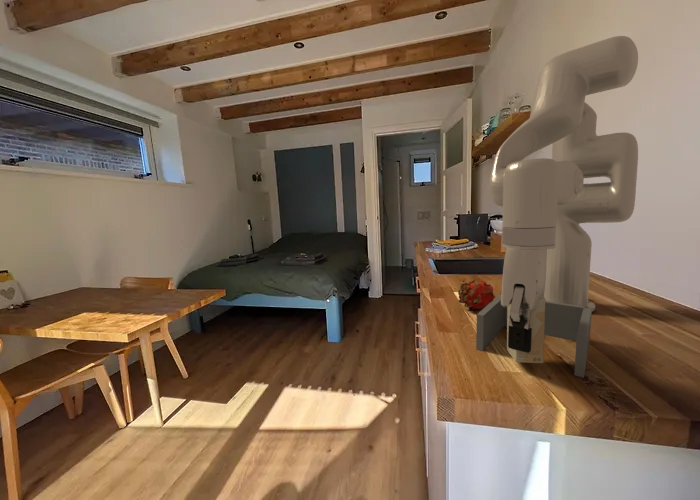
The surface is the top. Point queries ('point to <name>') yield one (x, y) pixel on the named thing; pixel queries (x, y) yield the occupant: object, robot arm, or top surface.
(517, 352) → the box
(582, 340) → the u-shaped wall
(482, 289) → the dragon fruit
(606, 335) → the top surface
